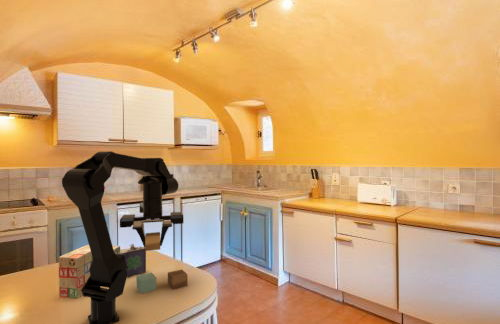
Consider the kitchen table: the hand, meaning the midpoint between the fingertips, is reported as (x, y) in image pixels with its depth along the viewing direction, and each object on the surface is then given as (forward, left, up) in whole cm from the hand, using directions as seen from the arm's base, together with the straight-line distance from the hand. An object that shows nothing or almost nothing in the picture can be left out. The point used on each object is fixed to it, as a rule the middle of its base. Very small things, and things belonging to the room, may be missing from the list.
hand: (153, 246), depth 94 cm
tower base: (0, +2, -13) cm, 13 cm away
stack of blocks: (+15, +15, -14) cm, 25 cm away
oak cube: (0, 0, -1) cm, 1 cm away
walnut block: (-3, -7, -13) cm, 15 cm away
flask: (+14, +3, -13) cm, 20 cm away
